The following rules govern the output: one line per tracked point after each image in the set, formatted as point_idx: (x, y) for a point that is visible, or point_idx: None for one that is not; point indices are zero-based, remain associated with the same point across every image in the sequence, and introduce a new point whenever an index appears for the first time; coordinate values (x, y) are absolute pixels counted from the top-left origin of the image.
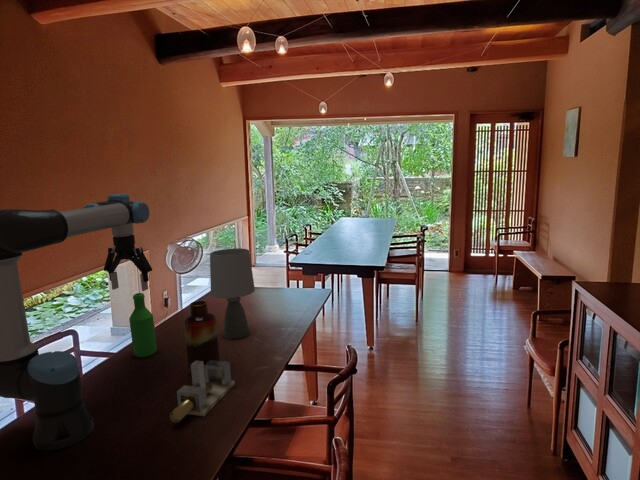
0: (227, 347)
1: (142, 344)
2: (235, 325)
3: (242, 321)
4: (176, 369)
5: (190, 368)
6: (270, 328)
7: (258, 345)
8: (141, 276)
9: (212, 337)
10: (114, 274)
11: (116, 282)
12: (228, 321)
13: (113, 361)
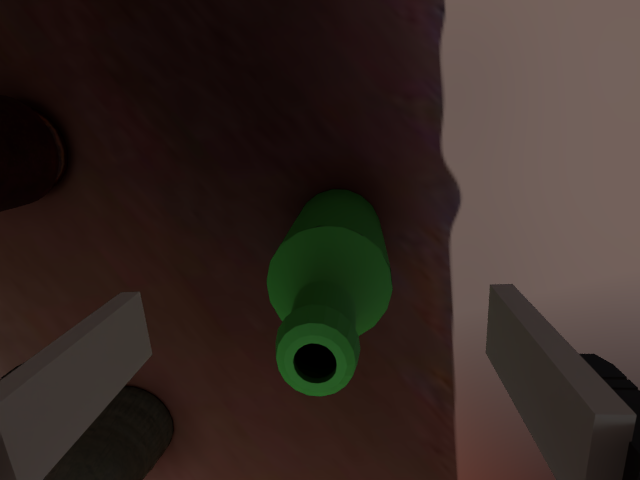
0: None
1: (309, 205)
2: None
3: None
4: (133, 143)
5: (12, 100)
6: None
7: (13, 360)
8: (1, 384)
9: None
10: (566, 439)
11: (511, 371)
12: (95, 436)
13: (417, 140)
